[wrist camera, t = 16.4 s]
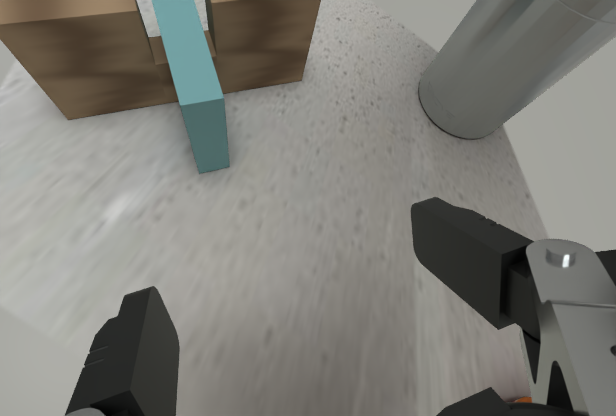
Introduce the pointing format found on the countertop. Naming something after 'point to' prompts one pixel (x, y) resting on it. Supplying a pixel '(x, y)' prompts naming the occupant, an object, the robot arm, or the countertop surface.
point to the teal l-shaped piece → (194, 82)
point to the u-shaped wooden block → (149, 49)
